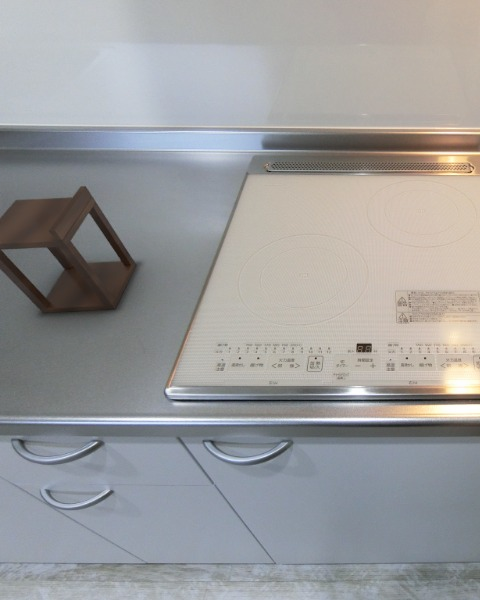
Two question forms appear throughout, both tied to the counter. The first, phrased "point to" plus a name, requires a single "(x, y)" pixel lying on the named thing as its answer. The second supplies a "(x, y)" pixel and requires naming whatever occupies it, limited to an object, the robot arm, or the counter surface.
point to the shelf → (64, 253)
